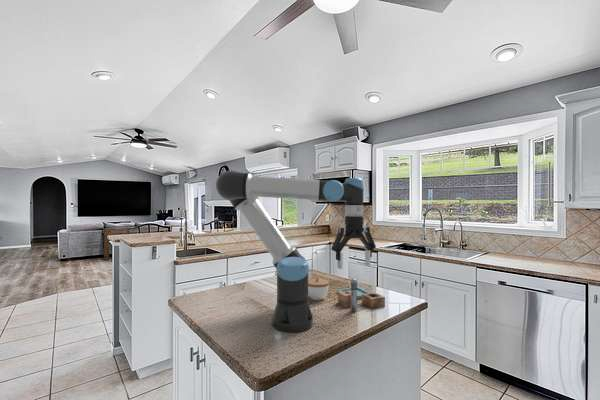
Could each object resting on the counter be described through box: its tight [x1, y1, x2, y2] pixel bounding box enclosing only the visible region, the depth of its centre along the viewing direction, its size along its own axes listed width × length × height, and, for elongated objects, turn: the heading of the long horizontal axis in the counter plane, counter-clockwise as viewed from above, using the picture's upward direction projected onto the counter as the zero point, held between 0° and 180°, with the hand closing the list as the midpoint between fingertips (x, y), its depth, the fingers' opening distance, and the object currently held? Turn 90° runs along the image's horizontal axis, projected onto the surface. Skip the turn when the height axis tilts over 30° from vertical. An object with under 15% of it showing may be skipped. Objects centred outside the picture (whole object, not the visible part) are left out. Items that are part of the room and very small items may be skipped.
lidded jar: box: [308, 277, 330, 301], centre depth 135 cm, size 11×11×9 cm
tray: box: [337, 286, 371, 300], centre depth 140 cm, size 12×12×2 cm
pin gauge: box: [350, 278, 358, 313], centre depth 120 cm, size 3×3×13 cm
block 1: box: [337, 290, 351, 308], centre depth 128 cm, size 6×6×5 cm
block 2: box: [361, 292, 386, 309], centre depth 127 cm, size 7×7×4 cm
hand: (354, 266), depth 120 cm, fingers open, 13 cm apart
